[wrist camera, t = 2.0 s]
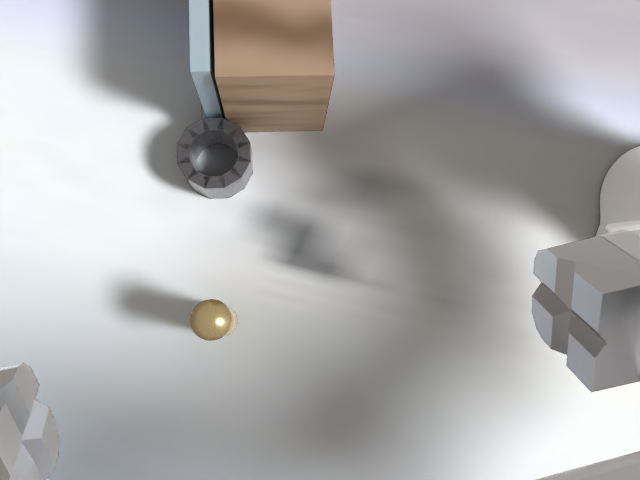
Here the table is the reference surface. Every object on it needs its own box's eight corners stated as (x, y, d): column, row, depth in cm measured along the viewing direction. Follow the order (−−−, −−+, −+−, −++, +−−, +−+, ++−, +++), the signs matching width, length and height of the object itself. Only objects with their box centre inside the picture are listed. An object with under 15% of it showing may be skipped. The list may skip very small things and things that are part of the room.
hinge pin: (246, 326, 60) (239, 326, 50) (216, 345, 59) (204, 348, 49) (228, 297, 60) (218, 291, 50) (198, 315, 60) (182, 313, 50)
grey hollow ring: (253, 197, 62) (251, 187, 57) (184, 199, 61) (177, 189, 57) (250, 100, 63) (248, 83, 59) (183, 101, 63) (176, 84, 58)
